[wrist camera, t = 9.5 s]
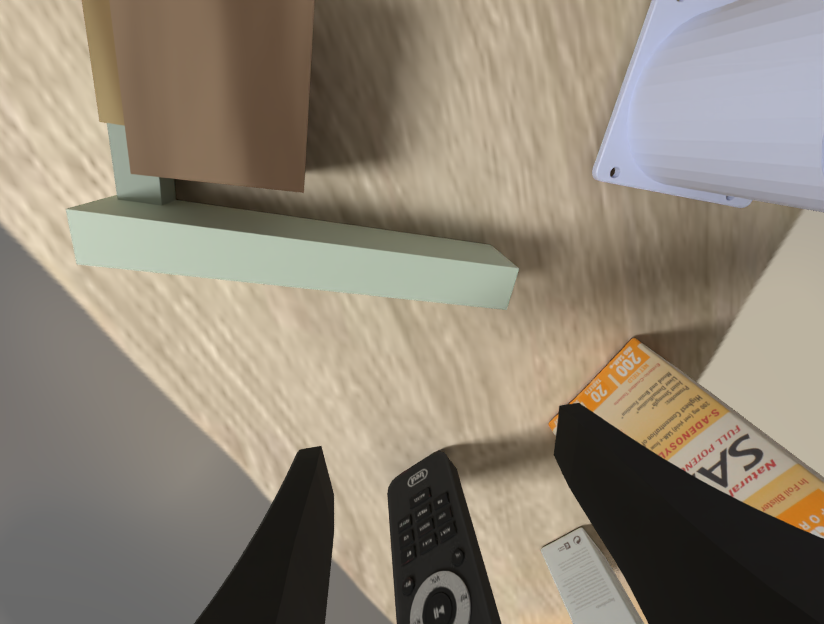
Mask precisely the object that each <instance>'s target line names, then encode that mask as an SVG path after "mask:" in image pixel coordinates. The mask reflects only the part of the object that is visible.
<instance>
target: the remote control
mask: <svg viewBox="0 0 824 624" xmlns="http://www.w3.org/2000/svg"><path fill="white" fill-rule="evenodd" d="M387 495H388V509H389V523H390V536H391V550H392V564H393V578H394V592H395V606H396V619H397V624H501V620H500V617H499V613H498V610H497V607H496V603H495V600H494V596H493V593H492V589H491V586H490V582H489V579H488V576H487V572H486V569H485V565H484V562H483V558H482V555H481V551H480V548H479V545H478V541H477V538H476V534H475V531H474V527H473V524H472V520H471V517H470V514H469V510H468V507H467V503H466V500H465V496H464V493H463V489H462V486H461V483H460V479H459V476H458V472H457V469H456V467H455V466H454V465H453V463H452V462H451V461H450V459H449V458H448V457H447V455H446V454H445V453H444V452H441V451H438V452H435V453H433V454H431V455H429V456H428V457H426V458H425V459H423V460H422V461H420V462H418V463H417V464H415V465H414V466H412V467H411V468H409V469H407V470H406V471H404V472H403V473H401V474H400V475H398V476H397V477H396V478H395V479H394V480H393V481H392V482H391V484H390V486H389V487H388V493H387Z"/></svg>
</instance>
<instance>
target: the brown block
mask: <svg viewBox="0 0 824 624" xmlns="http://www.w3.org/2000/svg"><path fill="white" fill-rule="evenodd" d="M314 3H315V0H82V5H83V12H84V19H85V26H86V32H87V39H88V46H89V53H90V60H91V66H92V73H93V80H94V87H95V94H96V100H97V107H98V114H99V121H100V122H104V123H111V124H117V125H124V126H125V132H126V140H127V148H128V157H129V165H130V173H131V174H135V175H144V176H153V177H163V178H172V179H181V180H191V181H200V182H209V183H218V184H228V185H237V186H246V187H256V188H265V189H274V190H284V191H293V192H302V193H304V180H305V162H306V145H307V127H308V109H309V92H310V74H311V56H312V38H313V21H314Z"/></svg>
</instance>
